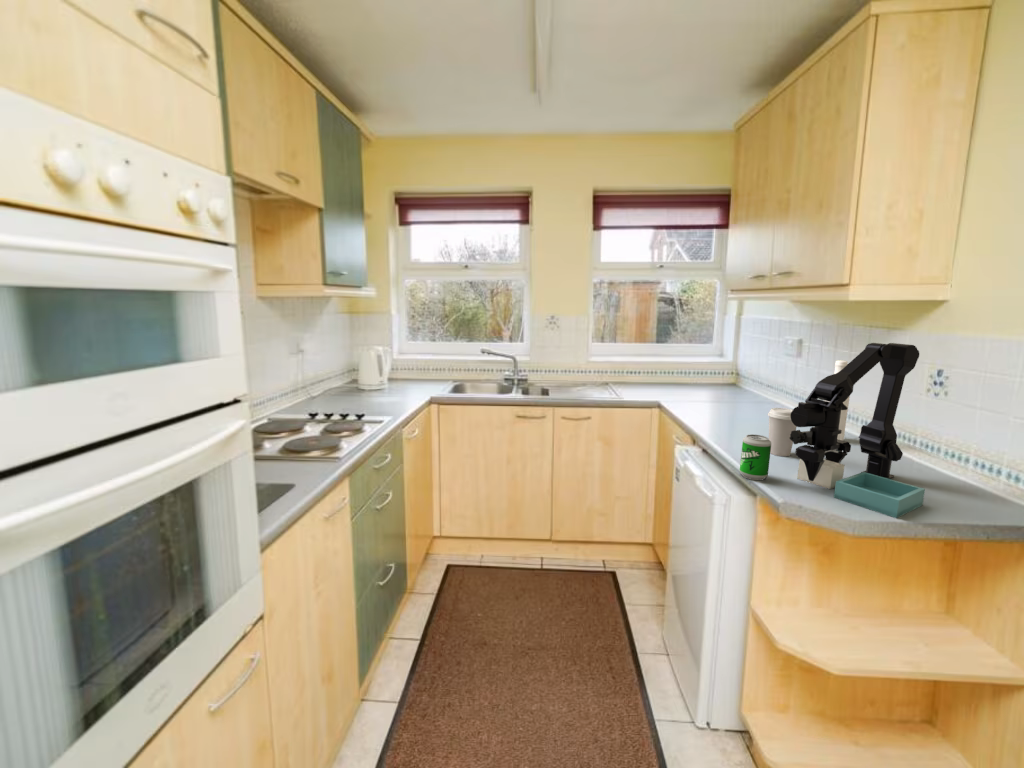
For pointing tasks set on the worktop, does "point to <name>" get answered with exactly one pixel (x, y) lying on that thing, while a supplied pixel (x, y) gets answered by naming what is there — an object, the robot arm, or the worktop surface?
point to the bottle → (838, 367)
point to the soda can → (755, 457)
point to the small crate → (823, 474)
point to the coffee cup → (780, 431)
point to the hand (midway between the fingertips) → (819, 477)
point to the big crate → (879, 494)
